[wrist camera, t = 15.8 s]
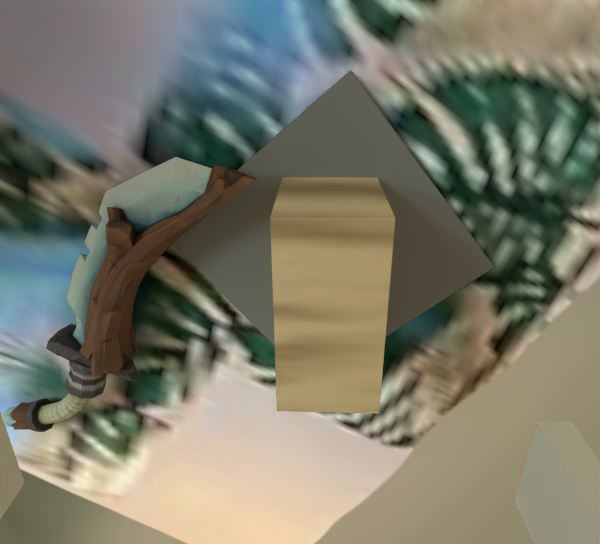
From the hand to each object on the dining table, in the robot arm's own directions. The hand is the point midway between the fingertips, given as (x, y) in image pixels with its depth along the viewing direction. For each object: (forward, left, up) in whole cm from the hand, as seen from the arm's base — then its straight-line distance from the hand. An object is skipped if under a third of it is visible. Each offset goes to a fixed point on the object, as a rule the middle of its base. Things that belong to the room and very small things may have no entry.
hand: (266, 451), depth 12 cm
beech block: (-5, -9, -17) cm, 20 cm away
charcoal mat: (-1, -4, -21) cm, 22 cm away
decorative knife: (-16, +3, -22) cm, 27 cm away
